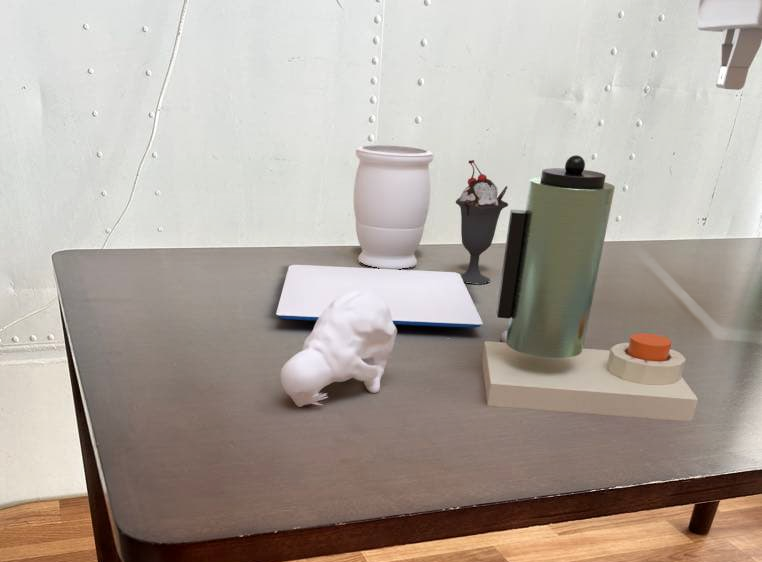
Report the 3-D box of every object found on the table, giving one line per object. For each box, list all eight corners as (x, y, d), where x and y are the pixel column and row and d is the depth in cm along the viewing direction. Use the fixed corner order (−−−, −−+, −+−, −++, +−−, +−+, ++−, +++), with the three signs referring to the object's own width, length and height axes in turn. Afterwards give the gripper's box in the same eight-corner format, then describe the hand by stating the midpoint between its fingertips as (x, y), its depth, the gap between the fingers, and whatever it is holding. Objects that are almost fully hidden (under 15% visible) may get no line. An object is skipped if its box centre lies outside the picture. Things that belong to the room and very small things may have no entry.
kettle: (573, 329, 81) (607, 150, 72) (587, 361, 72) (627, 163, 64) (490, 323, 81) (514, 144, 73) (495, 354, 73) (523, 156, 64)
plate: (481, 341, 89) (483, 322, 88) (275, 331, 88) (275, 312, 87) (458, 287, 108) (460, 271, 107) (289, 279, 107) (289, 263, 106)
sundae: (437, 277, 112) (449, 158, 104) (470, 271, 116) (484, 156, 108) (472, 288, 108) (487, 165, 100) (506, 282, 112) (523, 162, 104)
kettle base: (660, 375, 82) (670, 336, 80) (691, 422, 72) (704, 379, 70) (481, 362, 83) (487, 323, 81) (487, 406, 73) (493, 363, 71)
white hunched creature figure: (404, 291, 71) (312, 333, 64) (402, 382, 76) (317, 430, 69) (348, 277, 74) (255, 315, 67) (350, 365, 79) (263, 409, 72)
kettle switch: (662, 353, 77) (666, 334, 76) (671, 365, 74) (676, 346, 73) (623, 350, 77) (627, 331, 76) (630, 362, 74) (635, 343, 73)
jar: (434, 262, 120) (444, 150, 112) (408, 276, 112) (417, 156, 104) (368, 252, 124) (374, 142, 116) (338, 265, 115) (342, 148, 108)
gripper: (869, -119, 59) (805, 97, 67) (772, -82, 77) (730, 86, 84) (780, -123, 60) (726, 92, 67) (704, -85, 77) (668, 82, 84)
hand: (728, 89), depth 76 cm, fingers closed
